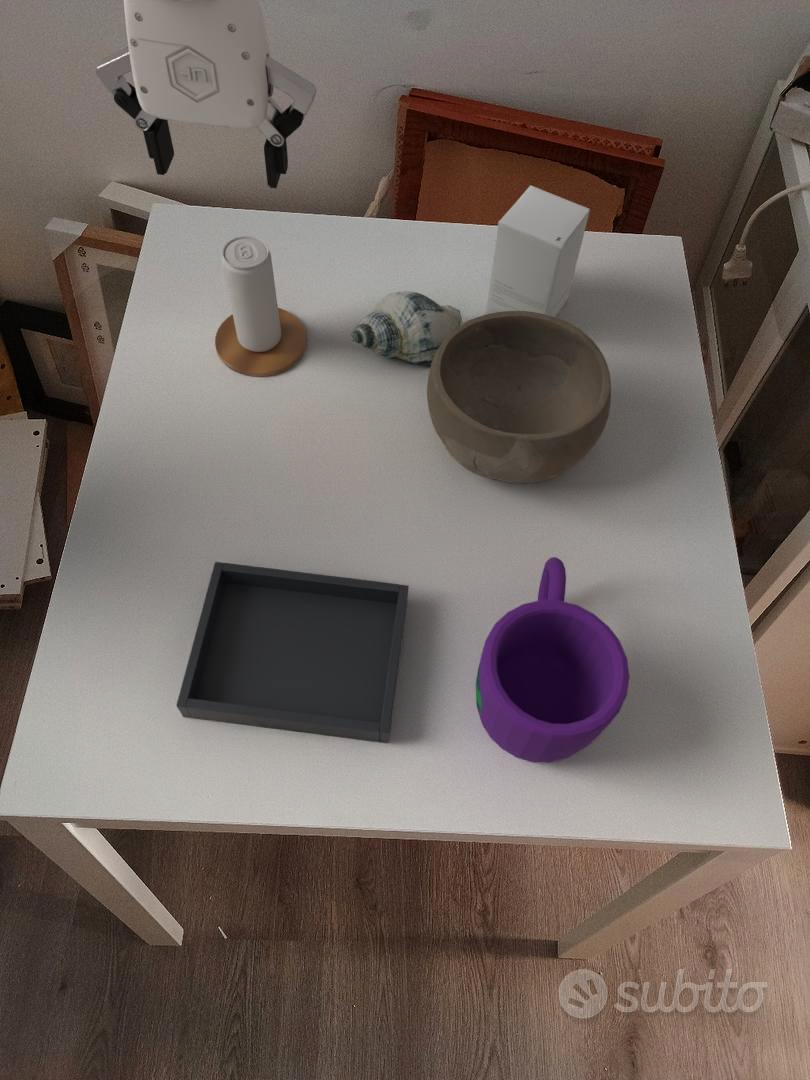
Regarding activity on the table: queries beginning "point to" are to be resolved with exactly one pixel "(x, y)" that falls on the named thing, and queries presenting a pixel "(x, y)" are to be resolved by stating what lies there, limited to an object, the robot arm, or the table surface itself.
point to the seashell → (407, 327)
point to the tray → (296, 652)
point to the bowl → (518, 395)
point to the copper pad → (262, 362)
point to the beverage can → (252, 292)
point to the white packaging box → (536, 253)
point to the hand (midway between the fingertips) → (220, 171)
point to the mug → (550, 675)
